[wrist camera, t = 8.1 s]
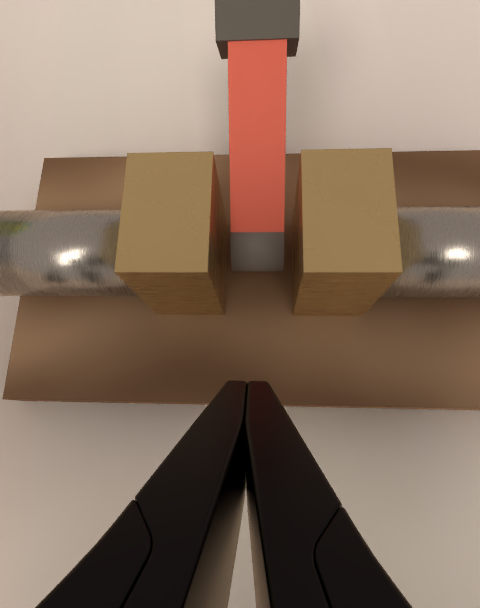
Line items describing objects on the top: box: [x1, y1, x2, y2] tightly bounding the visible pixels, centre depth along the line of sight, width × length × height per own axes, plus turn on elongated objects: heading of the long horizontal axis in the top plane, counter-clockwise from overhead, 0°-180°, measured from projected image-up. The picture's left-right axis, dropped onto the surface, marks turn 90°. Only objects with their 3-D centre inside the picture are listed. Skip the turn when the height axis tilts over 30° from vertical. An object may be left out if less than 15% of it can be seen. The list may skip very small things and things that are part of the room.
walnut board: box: [3, 150, 480, 410], centre depth 20 cm, size 12×22×2 cm, turn 89°
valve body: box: [0, 148, 480, 316], centre depth 16 cm, size 4×22×6 cm, turn 89°
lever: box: [215, 0, 300, 271], centre depth 15 cm, size 2×3×11 cm
